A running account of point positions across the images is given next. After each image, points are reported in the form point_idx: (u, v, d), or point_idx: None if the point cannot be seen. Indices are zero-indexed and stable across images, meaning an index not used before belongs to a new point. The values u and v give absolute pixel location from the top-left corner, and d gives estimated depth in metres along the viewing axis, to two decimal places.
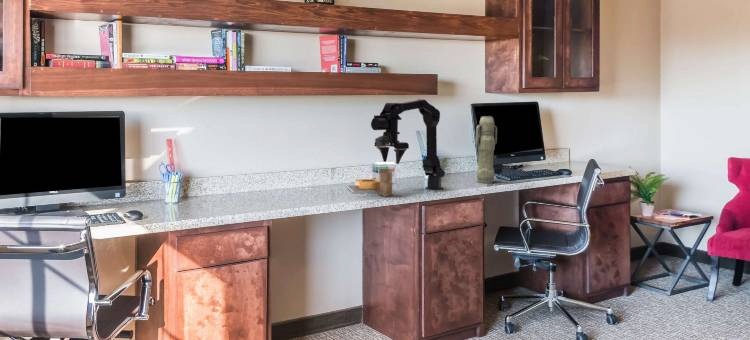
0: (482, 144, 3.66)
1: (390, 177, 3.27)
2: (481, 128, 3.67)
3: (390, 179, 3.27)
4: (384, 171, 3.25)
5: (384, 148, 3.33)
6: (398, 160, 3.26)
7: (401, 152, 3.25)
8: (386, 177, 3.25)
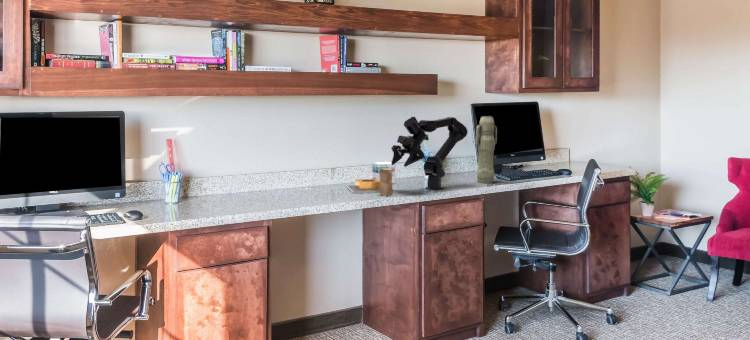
0: (482, 144, 3.66)
1: (390, 177, 3.27)
2: (481, 128, 3.67)
3: (390, 179, 3.27)
4: (384, 171, 3.25)
5: (398, 154, 3.38)
6: (407, 163, 3.28)
7: (414, 159, 3.29)
8: (386, 177, 3.25)
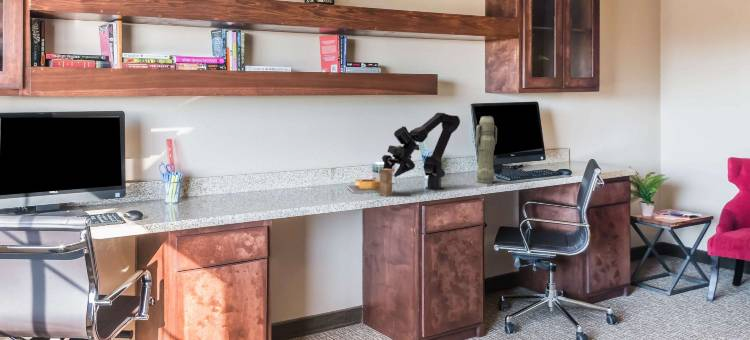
0: (482, 144, 3.66)
1: (390, 177, 3.27)
2: (481, 128, 3.67)
3: (390, 179, 3.27)
4: (384, 171, 3.25)
5: (389, 164, 3.35)
6: (397, 174, 3.25)
7: (404, 169, 3.26)
8: (386, 177, 3.25)
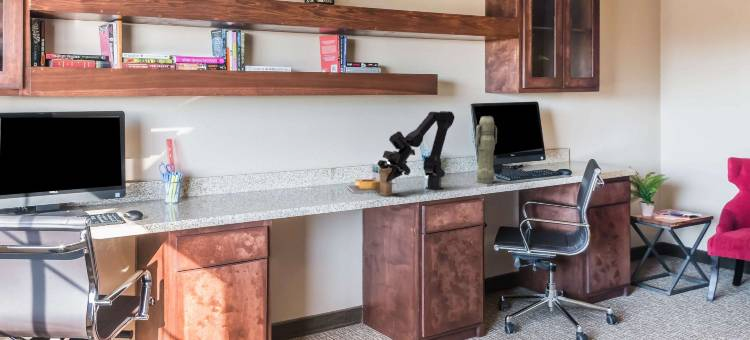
0: (482, 144, 3.66)
1: None
2: (481, 128, 3.67)
3: None
4: (384, 171, 3.25)
5: None
6: (389, 179, 3.25)
7: (396, 174, 3.27)
8: (386, 177, 3.25)
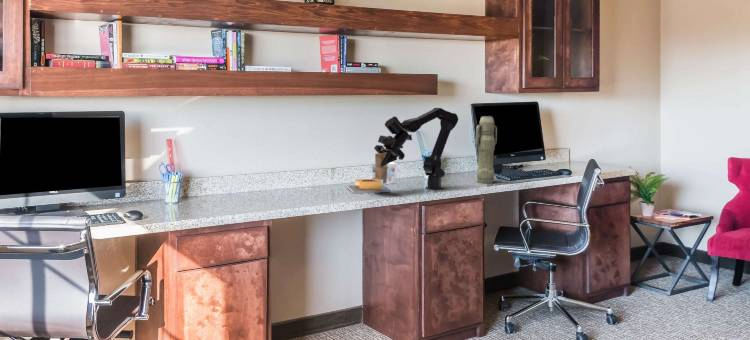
0: (482, 144, 3.66)
1: None
2: (481, 128, 3.67)
3: None
4: (378, 155, 3.27)
5: None
6: (384, 163, 3.27)
7: (391, 159, 3.28)
8: (380, 162, 3.27)
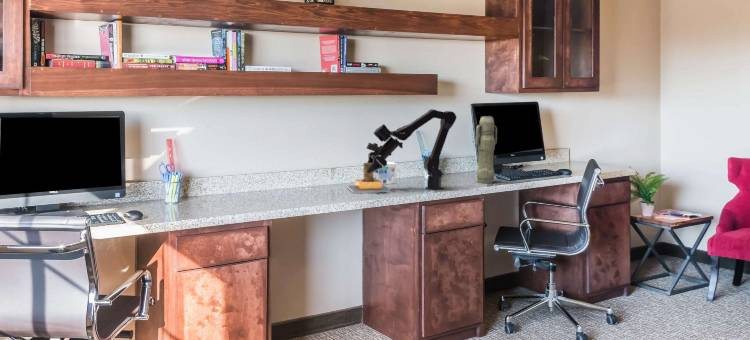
0: (482, 144, 3.66)
1: None
2: (481, 128, 3.67)
3: (371, 173, 3.40)
4: (364, 165, 3.39)
5: (372, 160, 3.46)
6: (370, 170, 3.36)
7: (377, 166, 3.36)
8: (365, 171, 3.39)
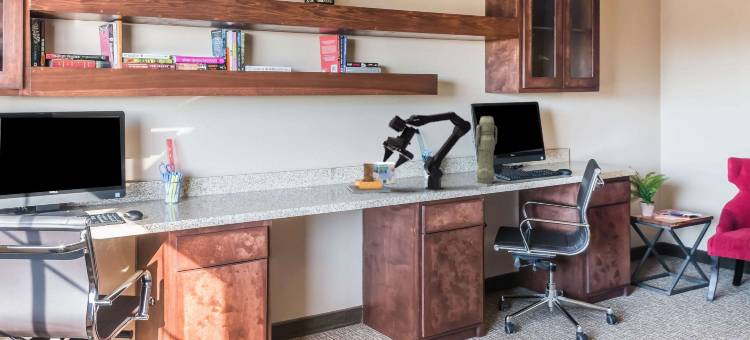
0: (482, 144, 3.66)
1: (371, 171, 3.39)
2: (481, 128, 3.67)
3: (371, 173, 3.40)
4: (364, 165, 3.39)
5: (389, 150, 3.46)
6: (397, 165, 3.38)
7: (403, 160, 3.38)
8: (365, 171, 3.39)
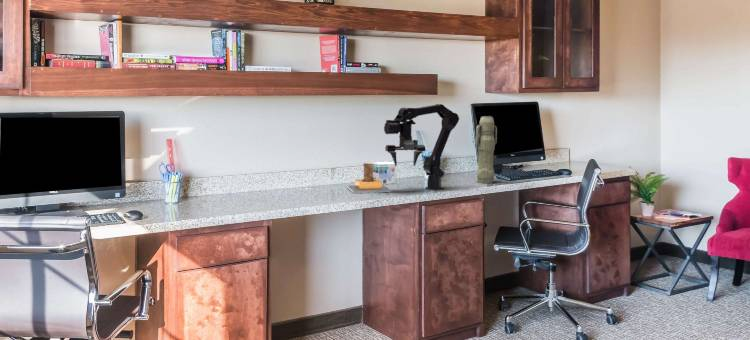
0: (482, 144, 3.66)
1: (371, 171, 3.39)
2: (481, 128, 3.67)
3: (371, 173, 3.40)
4: (364, 165, 3.39)
5: None
6: None
7: None
8: (365, 171, 3.39)
